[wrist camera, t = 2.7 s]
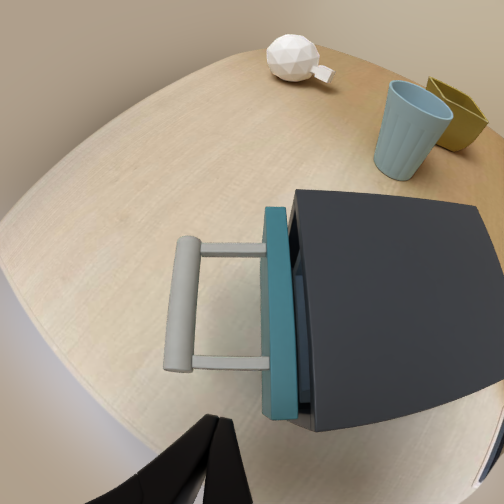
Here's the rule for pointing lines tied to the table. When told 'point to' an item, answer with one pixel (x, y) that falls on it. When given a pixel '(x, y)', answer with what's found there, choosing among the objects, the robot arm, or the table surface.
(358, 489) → the table surface
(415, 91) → the cup
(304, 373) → the teal drawer
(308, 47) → the perfume bottle
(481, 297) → the drawer cabinet
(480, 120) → the flower pot
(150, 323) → the table surface
